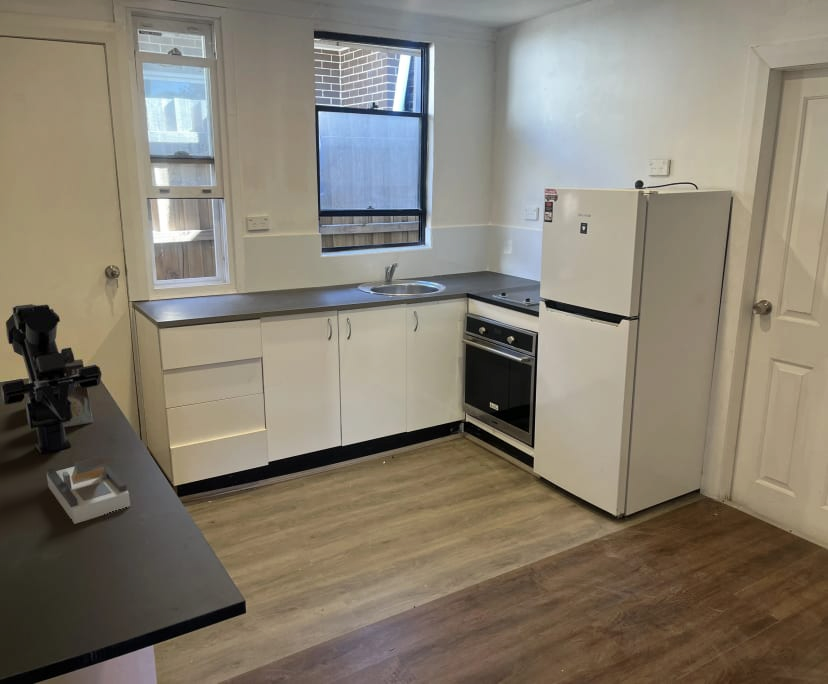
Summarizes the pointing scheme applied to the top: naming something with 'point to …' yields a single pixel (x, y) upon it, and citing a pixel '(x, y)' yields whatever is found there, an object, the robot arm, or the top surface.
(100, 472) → the lever
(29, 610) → the top surface
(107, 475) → the tray
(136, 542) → the top surface
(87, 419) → the coffee box
